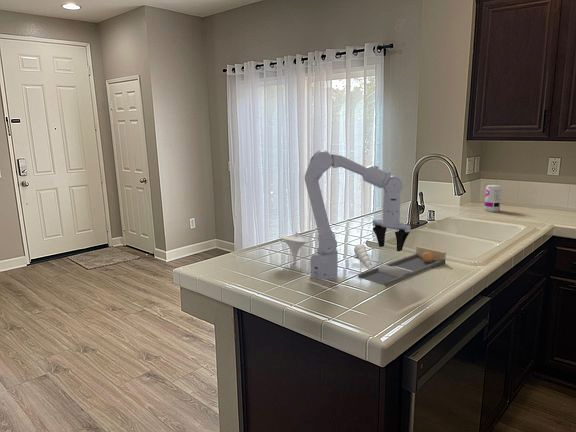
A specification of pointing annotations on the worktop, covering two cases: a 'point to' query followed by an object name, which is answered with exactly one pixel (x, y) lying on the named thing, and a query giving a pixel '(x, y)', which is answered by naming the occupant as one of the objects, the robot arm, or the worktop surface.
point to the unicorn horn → (363, 255)
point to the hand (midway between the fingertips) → (390, 248)
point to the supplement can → (492, 198)
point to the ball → (427, 257)
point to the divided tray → (404, 267)
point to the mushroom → (294, 243)
